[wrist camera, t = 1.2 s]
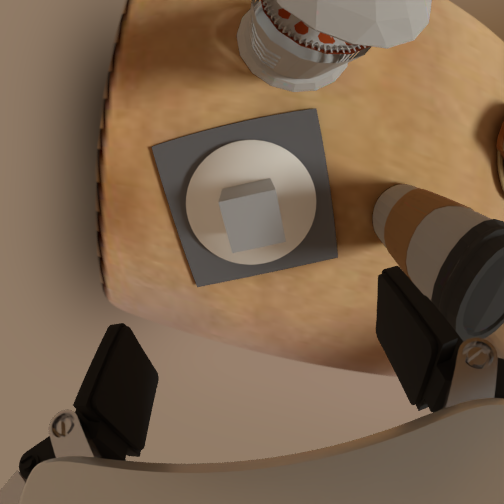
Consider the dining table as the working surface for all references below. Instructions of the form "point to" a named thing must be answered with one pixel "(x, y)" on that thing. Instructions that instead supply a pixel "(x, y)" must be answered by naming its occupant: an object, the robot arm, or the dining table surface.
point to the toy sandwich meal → (501, 155)
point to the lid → (251, 202)
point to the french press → (322, 36)
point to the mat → (266, 129)
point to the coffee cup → (446, 255)
